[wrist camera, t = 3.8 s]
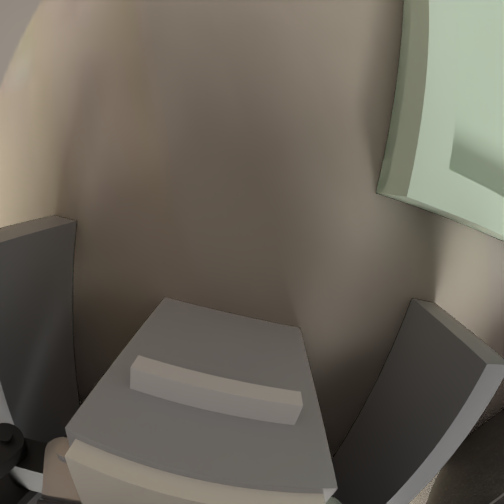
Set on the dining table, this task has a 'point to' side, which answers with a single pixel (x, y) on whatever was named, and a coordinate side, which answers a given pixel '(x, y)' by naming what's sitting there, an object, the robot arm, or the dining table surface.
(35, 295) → the bay
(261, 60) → the dining table surface
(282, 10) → the dining table surface
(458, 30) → the tray
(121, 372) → the white block
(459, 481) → the bowl
